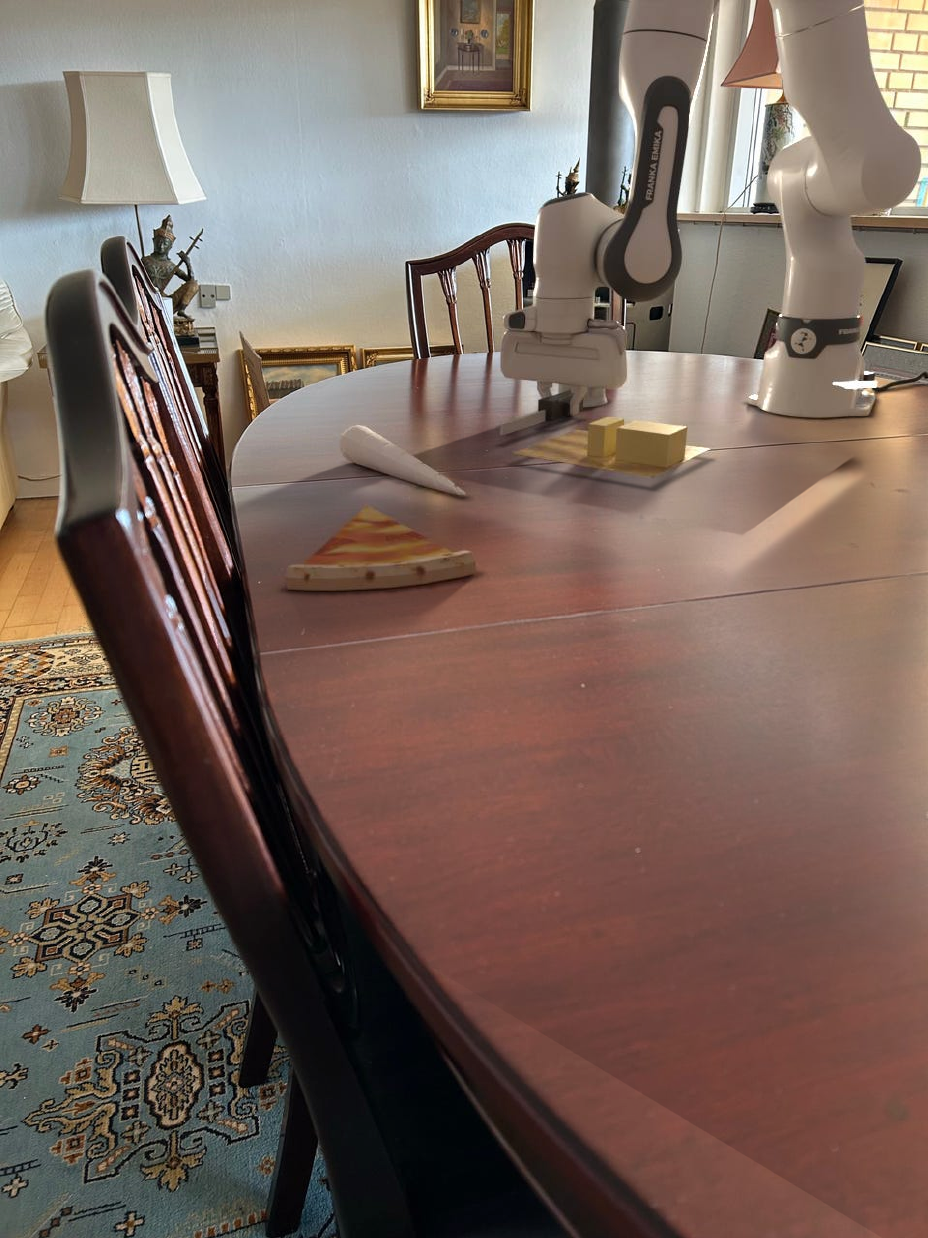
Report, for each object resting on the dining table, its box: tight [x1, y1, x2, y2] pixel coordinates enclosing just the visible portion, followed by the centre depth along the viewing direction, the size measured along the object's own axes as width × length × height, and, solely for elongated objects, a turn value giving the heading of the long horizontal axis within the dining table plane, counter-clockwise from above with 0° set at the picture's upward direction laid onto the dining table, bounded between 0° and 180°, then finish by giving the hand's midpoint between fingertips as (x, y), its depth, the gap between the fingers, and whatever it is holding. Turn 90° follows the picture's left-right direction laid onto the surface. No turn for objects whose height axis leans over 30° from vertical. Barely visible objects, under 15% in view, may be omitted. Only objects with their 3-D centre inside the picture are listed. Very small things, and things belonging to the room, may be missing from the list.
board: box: [511, 429, 710, 479], centre depth 115 cm, size 16×20×2 cm
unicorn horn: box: [339, 424, 467, 496], centre depth 109 cm, size 5×24×5 cm, turn 35°
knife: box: [499, 390, 584, 437], centre depth 131 cm, size 20×2×4 cm, turn 142°
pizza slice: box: [285, 504, 477, 592], centre depth 86 cm, size 16×22×2 cm
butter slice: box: [587, 416, 625, 458], centre depth 113 cm, size 5×2×4 cm, turn 142°
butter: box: [615, 419, 688, 468], centre depth 110 cm, size 5×7×4 cm
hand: (560, 413), depth 135 cm, fingers closed on knife, 2 cm apart
